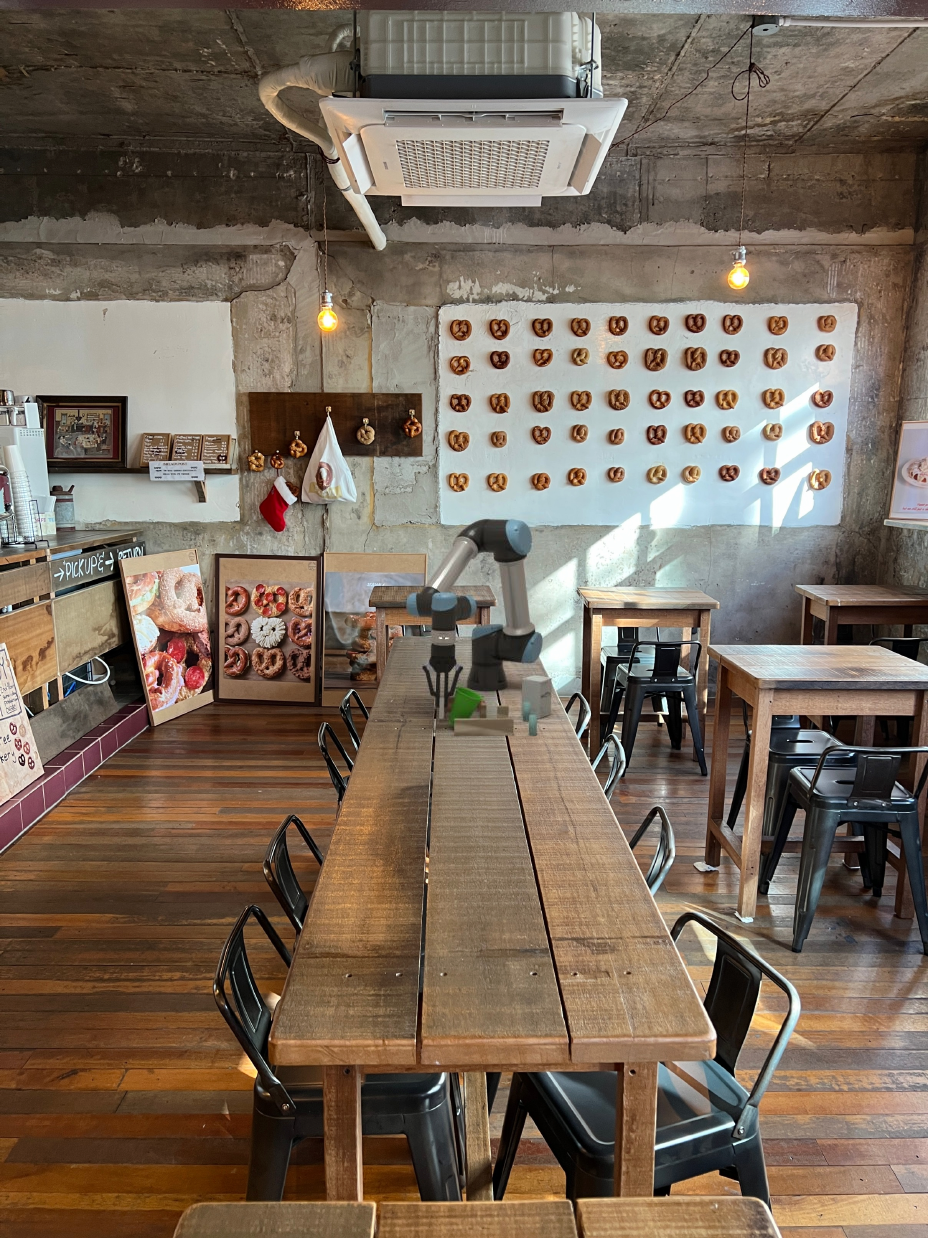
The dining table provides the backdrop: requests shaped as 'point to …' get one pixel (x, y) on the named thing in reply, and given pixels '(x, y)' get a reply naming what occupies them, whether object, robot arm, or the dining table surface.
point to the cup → (464, 704)
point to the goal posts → (530, 718)
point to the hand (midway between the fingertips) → (441, 717)
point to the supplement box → (537, 695)
